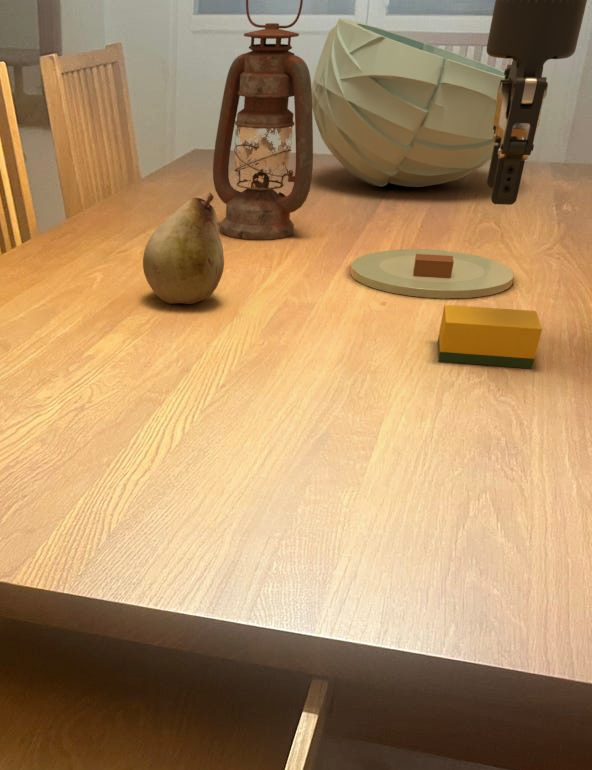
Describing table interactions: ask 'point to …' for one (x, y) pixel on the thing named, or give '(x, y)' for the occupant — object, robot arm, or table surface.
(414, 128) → the bowl
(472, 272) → the plate
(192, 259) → the fruit
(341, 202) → the table surface
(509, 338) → the sponge
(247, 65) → the lantern
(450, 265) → the brown rectangular block
